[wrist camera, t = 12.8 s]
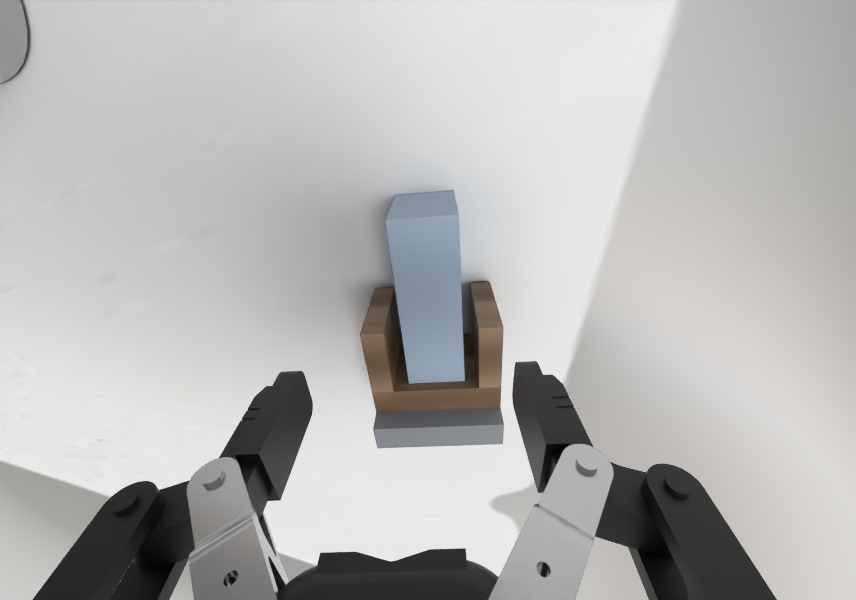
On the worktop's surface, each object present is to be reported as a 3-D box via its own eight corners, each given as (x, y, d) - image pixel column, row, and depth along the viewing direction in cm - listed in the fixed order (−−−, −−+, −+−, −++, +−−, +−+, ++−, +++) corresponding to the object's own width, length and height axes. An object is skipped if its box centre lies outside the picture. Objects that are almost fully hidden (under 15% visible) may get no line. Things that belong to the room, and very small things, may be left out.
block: (374, 288, 27) (359, 334, 22) (489, 281, 27) (503, 327, 21) (386, 358, 31) (376, 412, 25) (488, 353, 30) (500, 407, 25)
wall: (387, 356, 31) (373, 429, 24) (488, 351, 30) (503, 424, 24) (390, 372, 32) (377, 448, 25) (488, 368, 31) (502, 443, 25)
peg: (395, 194, 24) (385, 220, 19) (453, 189, 24) (458, 214, 19) (413, 334, 30) (409, 383, 25) (459, 332, 30) (464, 381, 25)
